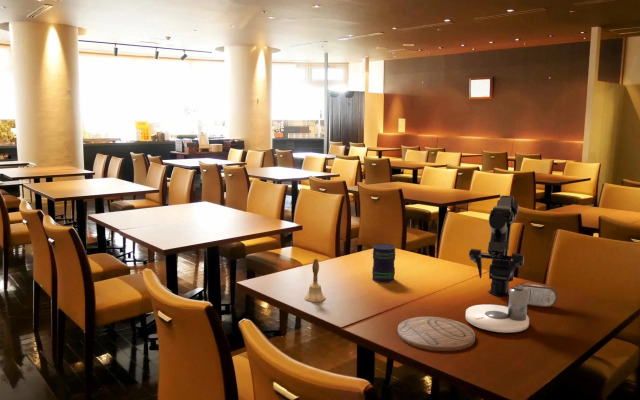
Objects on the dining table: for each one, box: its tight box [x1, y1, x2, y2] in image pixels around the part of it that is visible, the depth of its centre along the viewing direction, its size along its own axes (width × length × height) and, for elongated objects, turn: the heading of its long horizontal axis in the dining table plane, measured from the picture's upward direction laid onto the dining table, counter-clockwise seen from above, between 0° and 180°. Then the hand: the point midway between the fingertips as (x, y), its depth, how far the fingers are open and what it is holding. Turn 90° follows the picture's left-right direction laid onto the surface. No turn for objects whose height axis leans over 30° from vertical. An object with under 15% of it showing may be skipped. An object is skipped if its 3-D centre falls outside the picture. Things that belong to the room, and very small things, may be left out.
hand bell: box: [304, 258, 326, 303], centre depth 207 cm, size 8×8×16 cm
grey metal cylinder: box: [507, 284, 528, 321], centre depth 182 cm, size 6×6×11 cm
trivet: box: [396, 316, 476, 352], centre depth 174 cm, size 25×25×2 cm
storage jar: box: [371, 243, 396, 284], centre depth 233 cm, size 10×10×15 cm
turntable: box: [465, 304, 530, 333], centre depth 185 cm, size 21×21×2 cm
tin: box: [519, 282, 558, 308], centre depth 203 cm, size 15×3×8 cm, turn 71°
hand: (493, 279), depth 190 cm, fingers open, 9 cm apart
